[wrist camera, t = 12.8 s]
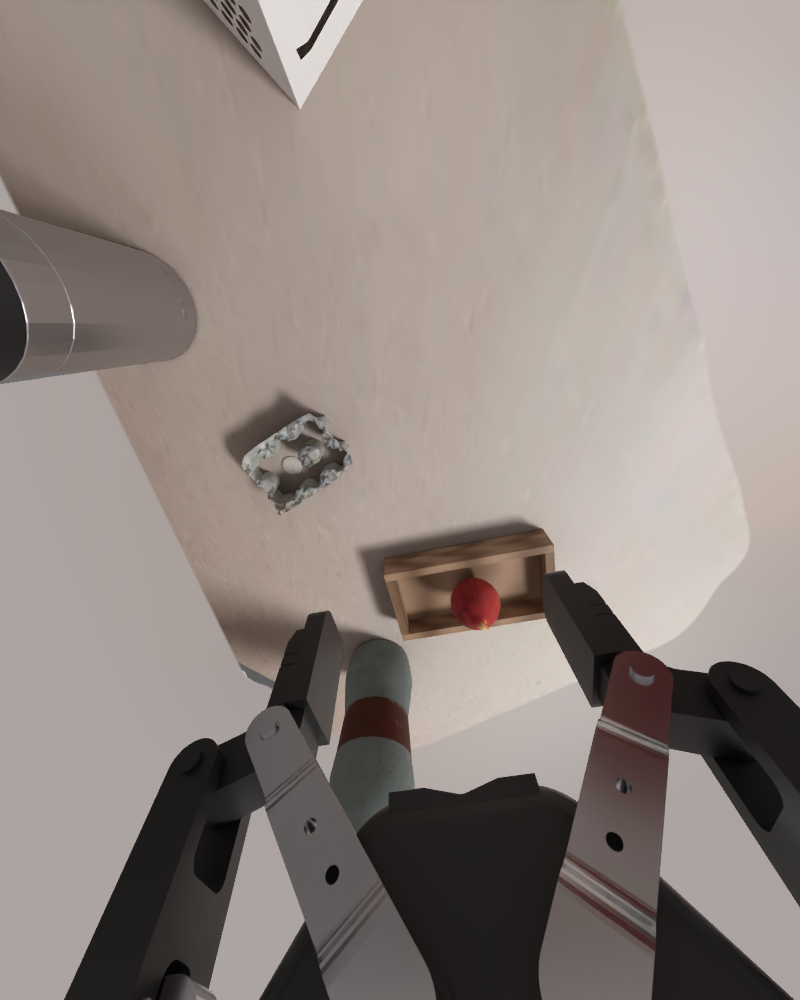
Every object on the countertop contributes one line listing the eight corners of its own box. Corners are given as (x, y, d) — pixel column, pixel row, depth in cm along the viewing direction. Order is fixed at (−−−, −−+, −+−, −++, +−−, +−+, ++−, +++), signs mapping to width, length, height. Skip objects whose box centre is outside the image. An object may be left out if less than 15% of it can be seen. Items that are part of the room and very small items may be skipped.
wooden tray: (403, 621, 51) (403, 640, 48) (384, 558, 46) (383, 575, 43) (547, 597, 49) (557, 616, 45) (542, 529, 44) (553, 544, 41)
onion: (462, 607, 48) (473, 656, 41) (438, 579, 46) (445, 625, 39) (500, 586, 47) (518, 634, 39) (477, 557, 45) (492, 601, 37)
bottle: (342, 671, 55) (285, 1000, 28) (358, 629, 51) (308, 964, 24) (400, 684, 56) (398, 1012, 29) (419, 644, 53) (437, 979, 26)
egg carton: (288, 503, 43) (277, 520, 39) (245, 452, 40) (228, 465, 37) (361, 459, 40) (356, 472, 37) (320, 401, 38) (311, 409, 34)
